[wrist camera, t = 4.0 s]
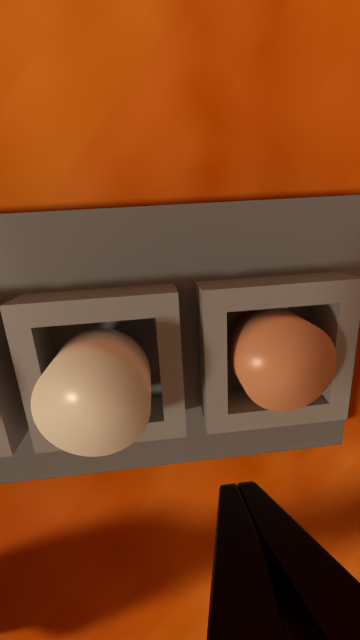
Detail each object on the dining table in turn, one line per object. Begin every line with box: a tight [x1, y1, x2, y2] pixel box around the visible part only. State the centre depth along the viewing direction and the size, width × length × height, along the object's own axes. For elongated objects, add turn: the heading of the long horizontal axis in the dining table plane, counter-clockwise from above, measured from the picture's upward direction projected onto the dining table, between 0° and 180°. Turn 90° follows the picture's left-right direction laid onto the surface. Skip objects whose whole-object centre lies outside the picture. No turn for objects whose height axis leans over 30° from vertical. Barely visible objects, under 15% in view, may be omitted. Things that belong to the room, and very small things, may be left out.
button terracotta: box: [227, 308, 337, 412], centre depth 14 cm, size 4×4×3 cm
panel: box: [0, 195, 360, 484], centre depth 15 cm, size 14×26×4 cm, turn 93°
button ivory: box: [31, 328, 151, 457], centre depth 12 cm, size 4×4×3 cm
